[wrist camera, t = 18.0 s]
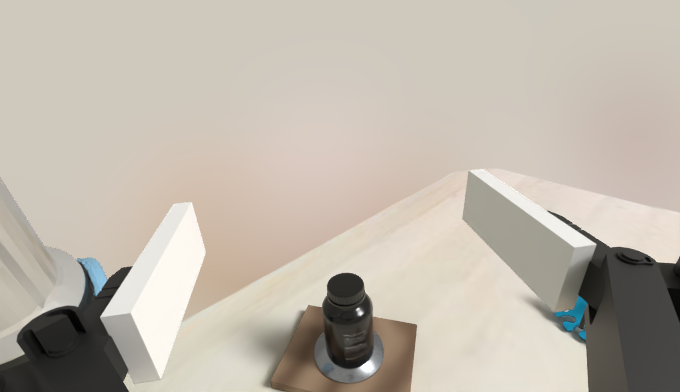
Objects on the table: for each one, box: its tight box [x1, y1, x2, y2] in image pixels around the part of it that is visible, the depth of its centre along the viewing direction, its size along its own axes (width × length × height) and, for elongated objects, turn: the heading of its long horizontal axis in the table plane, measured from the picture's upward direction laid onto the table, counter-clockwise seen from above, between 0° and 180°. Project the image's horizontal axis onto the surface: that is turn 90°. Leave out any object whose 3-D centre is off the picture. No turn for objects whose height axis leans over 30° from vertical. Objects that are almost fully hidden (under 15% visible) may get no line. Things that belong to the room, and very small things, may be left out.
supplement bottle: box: [322, 273, 374, 369], centre depth 45 cm, size 7×7×12 cm
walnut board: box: [271, 305, 417, 392], centre depth 48 cm, size 18×14×2 cm
